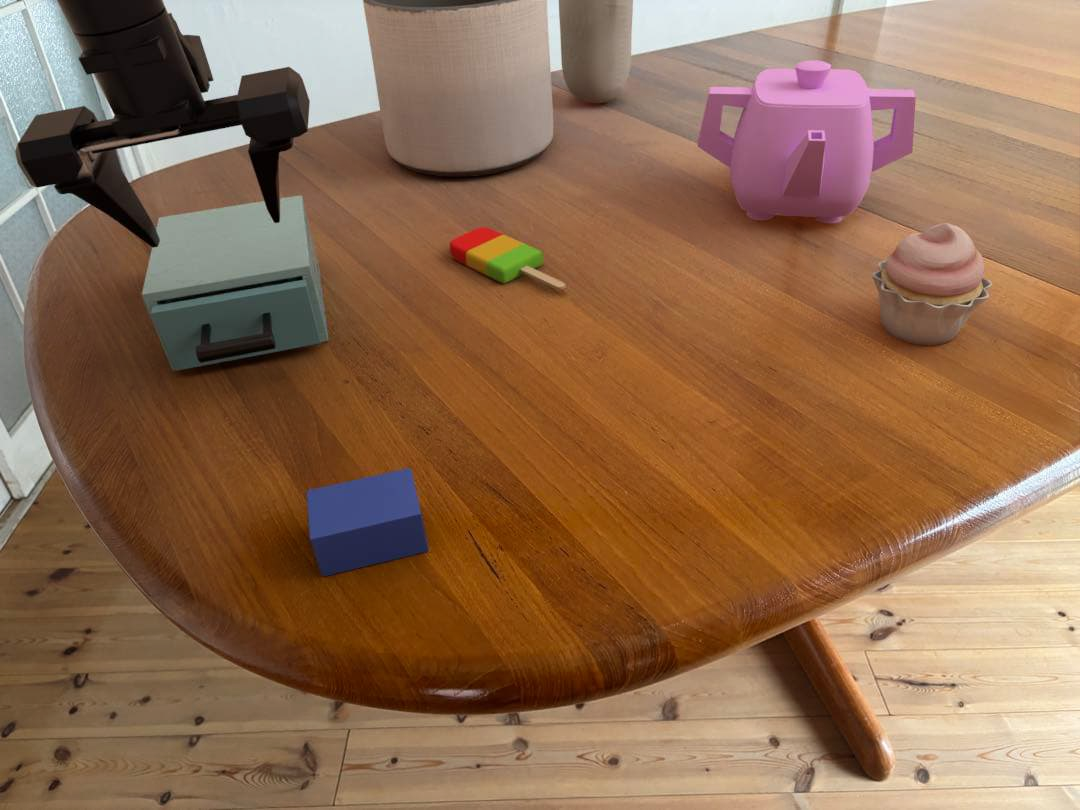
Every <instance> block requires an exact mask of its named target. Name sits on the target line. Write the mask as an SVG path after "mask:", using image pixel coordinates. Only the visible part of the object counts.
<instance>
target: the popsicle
mask: <svg viewBox="0 0 1080 810" xmlns="http://www.w3.org/2000/svg"><path fill="white" fill-rule="evenodd" d="M449 252H450V256H451V257H452V259H453V260H455V261H457V262H459V263H461V264H463V265H465V266H467V267H468V268H470V269H473V270H475V271H477V272H479V273H481V274H483V275H485V276H487V277H489V278H490V279H493V280H494V281H496V282H499V283H500V284H507V283H509V282H511V281H513V280H515V279H517V278H520V277H521V276H523V275H527V276H529V277H531V278H533V279H535V280H537V281H539V282H541V283H543V284H546V285H548V286H550V287H552V288H554V289H556V290H563V289H565V288H566V287H567V286H566V283H565V282H563V281H561V280H559V279H557V278H555V277H553V276H550V275H549V274H547V273H544V272H542V271H540V270H537V268H539V267H541V266H543V264H544V253H543V251H541V250H540V249H537V248H535V247H533V246H531V245H528V244H526V243H524V242H522V241H519V240H516V239H514V238H513V237H510V236H508V235H506V234H504V233H501V232H499V231H497V230H495V229H492V228H490V227H483V226H482V227H478V228H475V229H472V230H470V231H468V232H466V233H464V234H461V235H459V236H457V237H455V238H453V239H452V240H451V241H450V242H449Z"/></svg>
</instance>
